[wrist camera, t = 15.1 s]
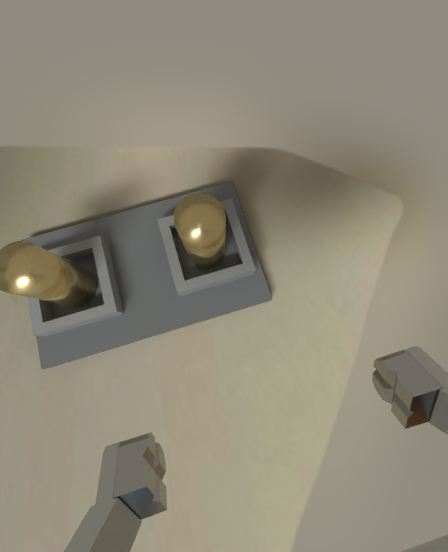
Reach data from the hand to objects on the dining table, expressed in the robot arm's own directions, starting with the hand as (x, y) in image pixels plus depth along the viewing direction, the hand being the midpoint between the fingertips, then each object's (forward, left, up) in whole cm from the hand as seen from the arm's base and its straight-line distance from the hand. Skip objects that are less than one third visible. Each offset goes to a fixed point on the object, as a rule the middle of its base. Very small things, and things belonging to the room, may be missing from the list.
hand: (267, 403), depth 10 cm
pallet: (-7, +12, -20) cm, 25 cm away
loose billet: (0, +12, -19) cm, 22 cm away
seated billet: (-14, +12, -19) cm, 26 cm away
